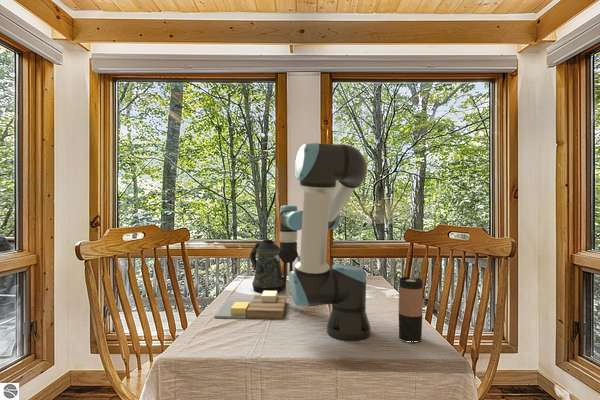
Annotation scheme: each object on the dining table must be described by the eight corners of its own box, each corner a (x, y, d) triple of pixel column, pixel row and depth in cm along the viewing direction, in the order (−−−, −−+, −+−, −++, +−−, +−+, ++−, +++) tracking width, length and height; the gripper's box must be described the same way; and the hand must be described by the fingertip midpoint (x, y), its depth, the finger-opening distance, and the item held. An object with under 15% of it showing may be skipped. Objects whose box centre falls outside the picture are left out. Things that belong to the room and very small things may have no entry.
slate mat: (245, 318, 145) (245, 316, 145) (214, 318, 146) (214, 316, 146) (254, 301, 169) (254, 299, 169) (228, 301, 170) (228, 299, 170)
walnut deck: (282, 318, 146) (282, 310, 146) (246, 317, 146) (246, 310, 146) (286, 302, 168) (286, 295, 168) (255, 302, 168) (255, 295, 168)
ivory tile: (275, 302, 158) (275, 296, 158) (261, 301, 158) (261, 295, 158) (277, 296, 167) (277, 290, 167) (263, 296, 167) (263, 290, 167)
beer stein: (281, 294, 183) (281, 242, 183) (242, 292, 186) (242, 241, 186) (287, 286, 199) (287, 238, 199) (252, 284, 202) (252, 238, 202)
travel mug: (406, 344, 121) (407, 282, 121) (394, 336, 128) (394, 277, 128) (427, 342, 123) (427, 281, 123) (413, 334, 131) (414, 276, 130)
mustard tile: (245, 314, 148) (245, 308, 148) (230, 314, 148) (230, 308, 148) (249, 308, 157) (249, 302, 157) (235, 307, 157) (235, 301, 157)
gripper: (303, 240, 166) (303, 293, 166) (274, 240, 166) (273, 293, 167) (303, 242, 158) (302, 298, 159) (272, 242, 159) (271, 297, 159)
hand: (287, 295), depth 163 cm, fingers closed
